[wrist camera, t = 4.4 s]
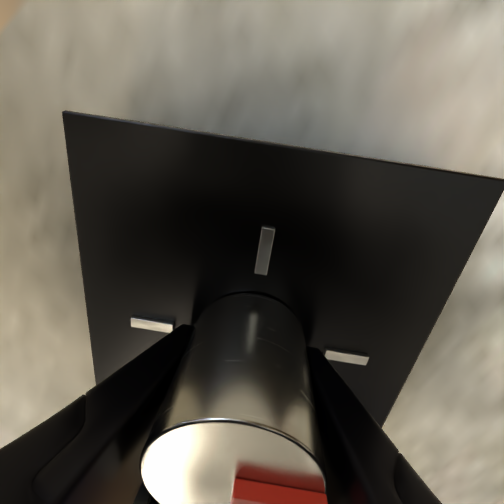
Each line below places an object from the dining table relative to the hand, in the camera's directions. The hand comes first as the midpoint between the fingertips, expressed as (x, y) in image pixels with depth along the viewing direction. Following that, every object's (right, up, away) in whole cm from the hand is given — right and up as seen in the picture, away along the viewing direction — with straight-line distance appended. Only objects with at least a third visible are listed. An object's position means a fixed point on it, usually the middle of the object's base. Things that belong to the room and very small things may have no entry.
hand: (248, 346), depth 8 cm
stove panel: (0, +1, +3) cm, 3 cm away
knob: (0, 0, 0) cm, 0 cm away
